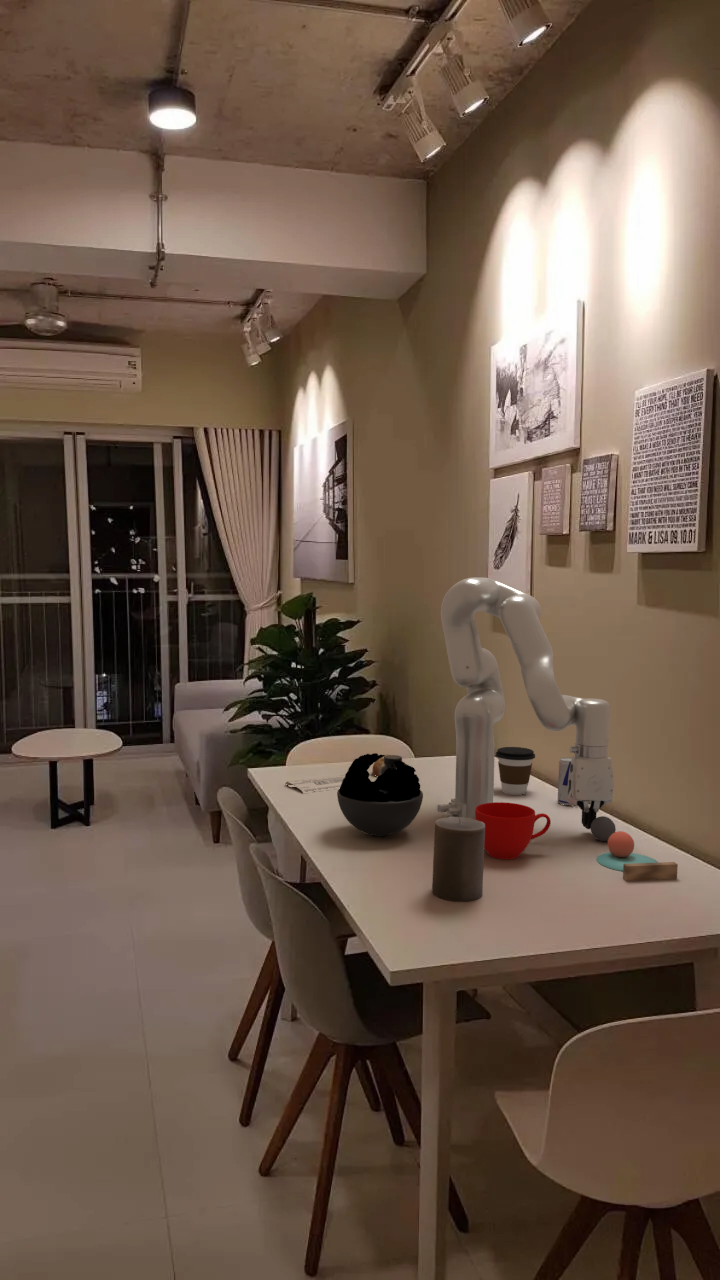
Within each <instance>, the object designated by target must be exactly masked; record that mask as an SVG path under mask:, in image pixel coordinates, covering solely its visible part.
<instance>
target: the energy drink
mask: <svg viewBox="0 0 720 1280" xmlns="http://www.w3.org/2000/svg"><path fill="white" fill-rule="evenodd" d="M571 760H572V757H560V758H559V761H558V778H557V779H558V782H557V786H558V787H557V803H558V804H559V803H560V804H559V805H561V804H564V805H574V804H570V803H568V802H567V799H568V796H569V795H568V790H567V789H568V776H569V769H570V764H571ZM564 805H563V806H564Z"/></svg>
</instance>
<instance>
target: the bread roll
mask: <svg viewBox="0 0 720 1280" xmlns="http://www.w3.org/2000/svg"><path fill="white" fill-rule="evenodd" d="M384 755H385V756H387V755H389V753H388V754H387V753H386V754H384ZM385 756H384V757H385ZM384 757H382V758H380V759H379V760H378V761H376V762H374V763H373V764H372V775H373V776H374V775H376V776H380V769H381V767H382V766H384V765H385V764H384ZM402 762H404V761H403V760H402ZM376 776H375V777H376Z"/></svg>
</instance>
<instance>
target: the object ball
mask: <svg viewBox="0 0 720 1280" xmlns="http://www.w3.org/2000/svg"><path fill="white" fill-rule="evenodd" d="M607 849H608V850H609V852H611V853H612V854H613V855H615V856H617V857H621V858H623V857H627V856H629V855H630V854H631V853H634V852H633V851H634V849H635V841H634V839H633V837H632V836H631V835H630V834H629V833H627V832H625V831H615V833H613V834H612V835H611V836H610V837H609V839H608V841H607Z"/></svg>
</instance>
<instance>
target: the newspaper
mask: <svg viewBox="0 0 720 1280" xmlns="http://www.w3.org/2000/svg"><path fill="white" fill-rule="evenodd" d="M344 778H345V774H342V775H334V776H326V777H325V776H324V777H316V778H314V777H313V778H307V779H299V780H298V779H297V780H290V781H286V782H285V786H286V784H287V785H294V786H296V788H297V789H299V790H300V791H301V792H302V793H303V792H308V791H314V790H321V789H328V788H335V787H340V786H341V784H342V781H343V779H344Z"/></svg>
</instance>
